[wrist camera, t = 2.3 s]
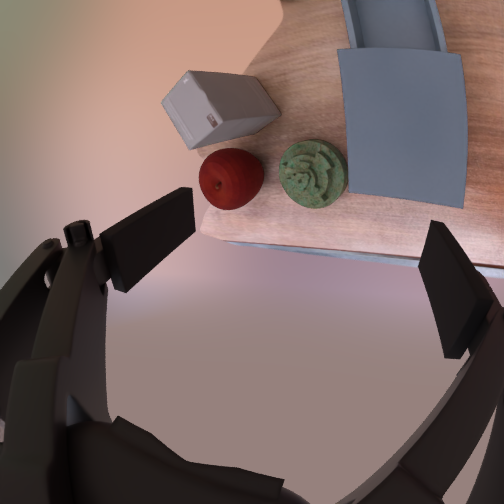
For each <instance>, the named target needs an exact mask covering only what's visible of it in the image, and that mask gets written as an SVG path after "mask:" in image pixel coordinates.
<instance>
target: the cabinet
mask: <svg viewBox="0 0 504 504" xmlns="http://www.w3.org/2000/svg"><path fill="white" fill-rule="evenodd" d="M337 53H338V59H339V66H340V74H341V81H342V90H343V99H344V109H345V121H346V134H347V152H348V180H349V193H358V194H367V195H376V196H384V197H392V198H399V199H406V200H413V201H420V202H426V203H432V204H438V205H444V206H450V207H455V208H461V209H463V205H464V196H465V186H466V174H467V155H468V121H467V102H466V91H465V81H464V73H463V66H462V60H461V55H460V54H455V53H448V52H441V51H432V50H422V49H407V48H351V49H337Z"/></svg>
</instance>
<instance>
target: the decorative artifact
mask: <svg viewBox="0 0 504 504" xmlns="http://www.w3.org/2000/svg"><path fill="white" fill-rule="evenodd" d="M279 178H280V182H281V184H282V186H283V188H284V190H285V192H286V193H287V194H288V195H289V197H290V198H291V199H292V200H294V201H295V202H296V203H298V204H300V205H302V206H304V207H307V208H314V209H317V208H323V207H326V206H328V205H330V204H332V203H333V202H334V201H335V200H336V199H337V198H338V197H339V196H340V195H341V194H342V193H343V192H344V190H345V188H346V186H347V182H348V167H347V164H346V161H345V159H344V157H343V155H342V154H341V153H340V151H339V150H338V149H337V148H336V147H334V146H333V145H331V144H330V143H328V142H326V141H323V140H318V139H310V140H306V141H302V142H298V143H296V144H294V145H292V146H291V147H289V148H288V149H287V150H286V152H285V153H284V154H283V156H282V158H281V161H280V166H279Z"/></svg>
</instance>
